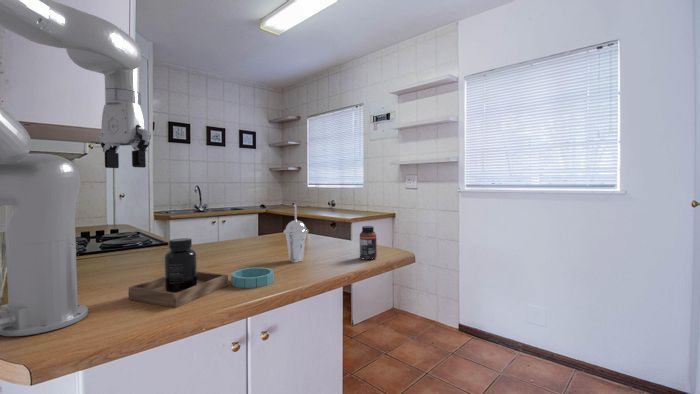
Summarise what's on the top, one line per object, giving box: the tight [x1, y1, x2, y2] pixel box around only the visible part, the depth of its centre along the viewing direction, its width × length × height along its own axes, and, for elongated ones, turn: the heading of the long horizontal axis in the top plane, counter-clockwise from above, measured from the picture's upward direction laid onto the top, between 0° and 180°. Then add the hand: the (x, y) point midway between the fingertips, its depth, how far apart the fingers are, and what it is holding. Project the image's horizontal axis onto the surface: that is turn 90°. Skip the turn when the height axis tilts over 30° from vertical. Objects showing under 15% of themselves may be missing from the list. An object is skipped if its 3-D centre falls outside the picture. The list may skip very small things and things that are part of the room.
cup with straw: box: [282, 202, 309, 263], centre depth 111 cm, size 8×9×20 cm
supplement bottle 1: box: [164, 237, 198, 293], centre depth 79 cm, size 7×7×12 cm
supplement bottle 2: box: [359, 225, 378, 259], centre depth 116 cm, size 6×6×11 cm
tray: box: [127, 270, 229, 308], centre depth 79 cm, size 16×14×3 cm
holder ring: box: [230, 267, 275, 289], centre depth 88 cm, size 11×11×2 cm
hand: (125, 167), depth 84 cm, fingers open, 9 cm apart
